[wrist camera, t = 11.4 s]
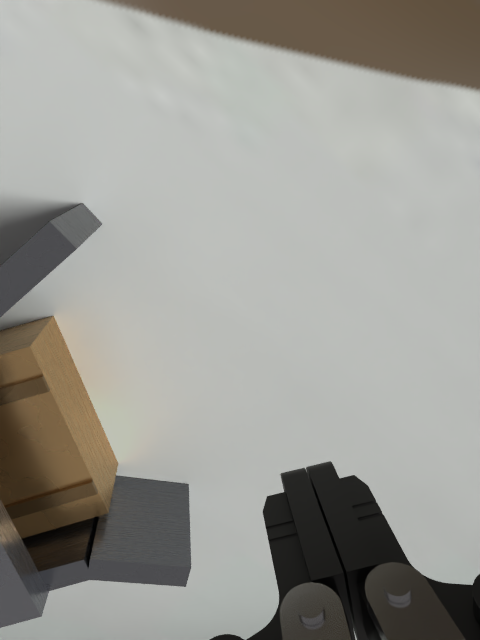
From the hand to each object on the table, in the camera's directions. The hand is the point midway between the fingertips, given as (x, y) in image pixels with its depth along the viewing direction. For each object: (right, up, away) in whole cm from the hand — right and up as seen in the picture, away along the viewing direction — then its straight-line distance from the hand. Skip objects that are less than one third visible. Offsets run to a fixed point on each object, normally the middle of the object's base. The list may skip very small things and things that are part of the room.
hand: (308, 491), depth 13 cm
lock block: (-14, 0, +11) cm, 17 cm away
